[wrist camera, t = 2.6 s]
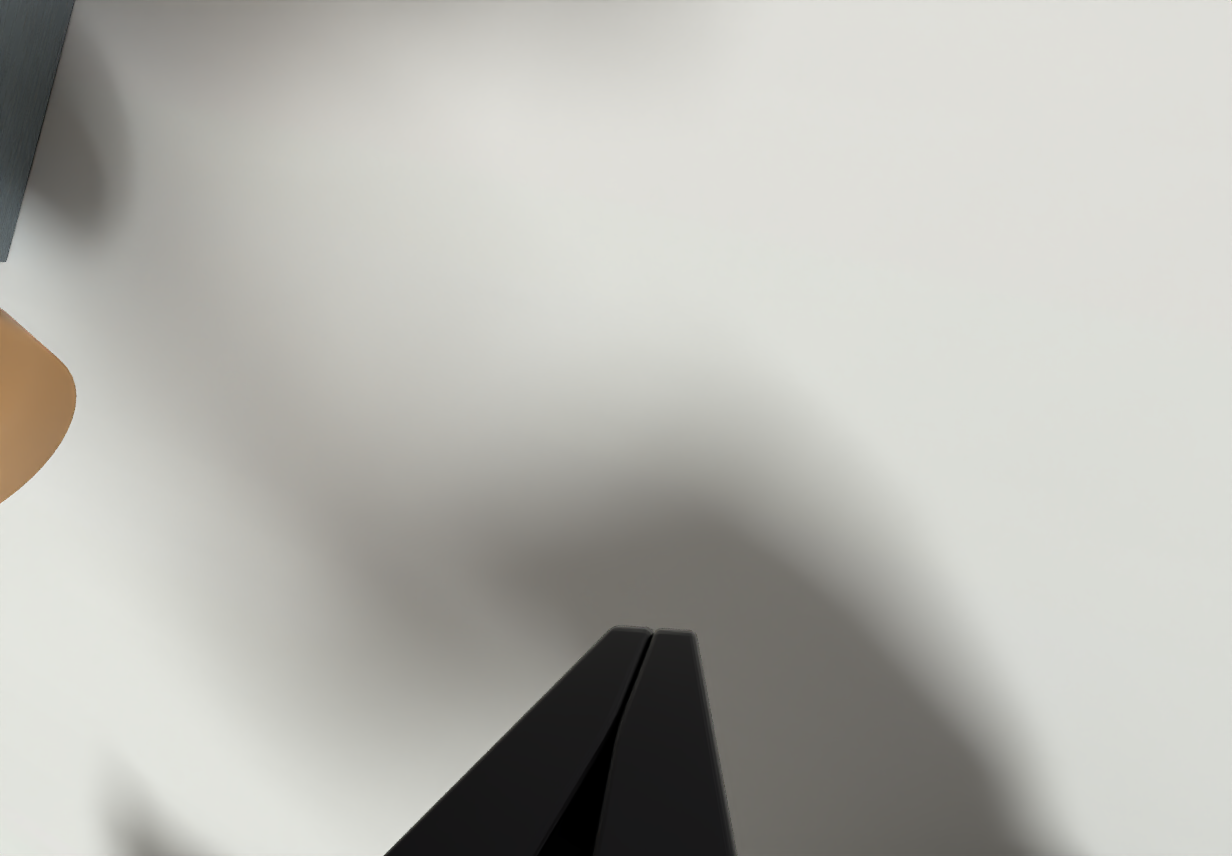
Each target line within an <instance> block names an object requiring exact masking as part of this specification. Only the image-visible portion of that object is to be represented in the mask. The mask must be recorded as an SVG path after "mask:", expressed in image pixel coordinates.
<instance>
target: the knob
mask: <svg viewBox="0 0 1232 856" xmlns="http://www.w3.org/2000/svg"><path fill="white" fill-rule="evenodd" d="M75 405H76V389H75V384H74V381H73V377H72V375H71V374H70V372H69V370H68V368H67V367H66V366H65V365H64V364H63V363H62V362H61V361H60V360H59V359H58V358H57V357H56V356H55V355H54V354H53V353H51V352H50V351H49V350H48V349H47V348H46V347H45V346H44V345H42V344H41V343H40V342H39V341H38V340H37V339H36V338H35V337H33V336H32V335H31V334H30V333H29V332H28V331H27V330H26V329H25V328H23V327H22V326H21V325H20V324H19V323H18V322H17V321H16V320H14V319H13V318H12V317H11V316H10V315H9V314H8V313H7V312H5V311H4V310H3V309H1V308H0V503H1V502H3V501H4V500H6V499H7V498H8V497H10V496H11V495H12V494H13V493H15V492H16V491H17V490H19V489H20V488H21V487H22V486H23V485H24V484H25V483H26V482H28V481H29V480H30V479H31V478H32V477H33V476H34V475H35V474H36V473H37V472H38V471H39V470H40V469H41V468H42V467H43V466H44V464H45V463H46V462H47V461H48V460H49V458H50V457H51V456H52V455H53V453H54V452H55V450H56V449H57V448H58V446H59V445H60V443H61V442H62V440H63V438H64V436H65V434H66V432H67V431H68V428H69V426H70V423H71V421H72V418H73V414H74V410H75Z"/></svg>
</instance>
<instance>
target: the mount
mask: <svg viewBox="0 0 1232 856" xmlns="http://www.w3.org/2000/svg"><path fill="white" fill-rule="evenodd" d="M73 4H74V0H0V262H6V259H7V256H8V252H9V248H10V244H11V240H12V237H13V233H14V229H15V225H16V221H17V217H18V214H19V210H20V206H21V202H22V198H23V195H24V191H25V187H26V183H27V179H28V176H29V172H30V168H31V164H32V160H33V157H34V153H35V149H36V145H37V141H38V138H39V134H40V130H41V126H42V122H43V118H44V115H45V111H46V107H47V103H48V99H49V96H50V92H51V88H52V84H53V80H54V77H55V73H56V69H57V65H58V61H59V58H60V54H61V50H62V46H63V42H64V38H65V35H66V31H67V27H68V23H69V19H70V16H71V12H72V8H73Z"/></svg>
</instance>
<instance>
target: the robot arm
mask: <svg viewBox="0 0 1232 856" xmlns="http://www.w3.org/2000/svg"><path fill="white" fill-rule="evenodd" d="M384 856H737V852H736V846H735V841H734V835H733V830H732V824H731V819H730V814H729V808H728V803H727V797H726V792H725V786H724V781H723V775H722V770H721V764H720V759H719V754H718V748H717V743H716V737H715V732H714V726H713V721H712V715H711V710H710V704H709V699H708V694H707V688H706V683H705V677H704V672H703V666H702V661H701V655H700V650H699V645H698V639H697V635H696V634H695V632H693V631H691V630H680V629H665V628H661V629H658V630H657V631H655V632H654V631H653V630H652V629H650V628H648V627H635V626H615V627H613V628H611V629H610V630H609V631H608V632H607V633H606V634H605V635H604V636H603V637H602V638H601V639H600V640H599V641H598V642H597V643H596V644H595V645H594V646H593V647H592V648H591V649H590V650H589V651H588V652H587V653H586V654H585V655H584V656H583V657H582V658H581V659H580V660H579V661H578V662H577V663H576V664H575V665H574V666H573V667H572V668H571V669H570V670H569V671H568V672H567V673H566V674H565V675H564V676H563V677H562V678H561V679H560V680H559V681H558V682H557V683H556V684H555V685H554V686H553V687H552V688H551V689H550V690H549V691H548V692H547V693H546V694H545V695H544V696H543V697H542V698H541V699H540V700H539V701H538V702H537V703H536V704H535V705H534V706H533V707H532V708H531V709H530V710H529V711H528V712H527V713H526V714H525V715H524V716H523V717H522V718H521V719H520V720H519V721H518V722H517V723H516V724H515V725H514V726H513V727H512V728H511V729H510V730H509V731H508V732H507V733H506V734H505V735H504V736H503V737H502V738H501V739H500V740H499V741H498V742H497V743H496V744H495V745H494V746H493V747H492V748H491V749H490V750H489V751H488V752H487V753H486V754H485V755H484V756H483V757H482V758H481V759H480V760H479V761H478V762H477V763H476V764H475V765H474V766H473V767H472V768H471V769H470V770H469V771H468V772H467V773H466V774H465V775H464V776H463V777H462V778H461V779H460V780H459V781H458V782H457V783H456V784H455V785H454V786H453V787H452V788H451V789H450V790H449V791H448V792H447V793H446V794H445V795H444V796H443V797H442V798H441V799H440V800H439V801H438V802H437V803H436V804H435V805H434V806H433V807H432V808H431V809H430V810H429V811H428V812H427V813H426V814H425V815H424V816H423V817H422V818H421V819H420V820H419V821H418V822H417V823H416V824H415V825H414V826H413V827H412V828H411V829H410V830H409V831H408V832H407V833H406V834H405V835H404V836H403V837H402V838H401V839H400V840H399V841H398V842H397V843H396V844H395V845H394V846H393V847H392V848H391V849H390V850H389V851H388V852H387V853H386V854H385V855H384Z"/></svg>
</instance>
